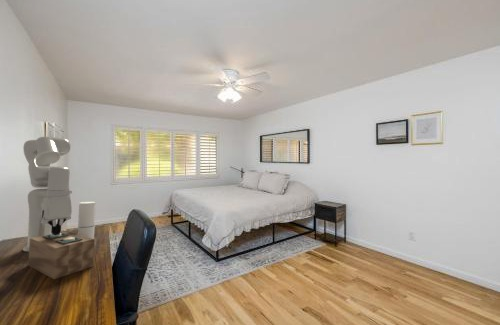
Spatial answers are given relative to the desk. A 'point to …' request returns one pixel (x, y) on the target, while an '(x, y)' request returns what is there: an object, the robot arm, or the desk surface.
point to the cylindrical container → (86, 219)
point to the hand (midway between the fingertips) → (56, 234)
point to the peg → (68, 239)
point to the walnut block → (61, 254)
